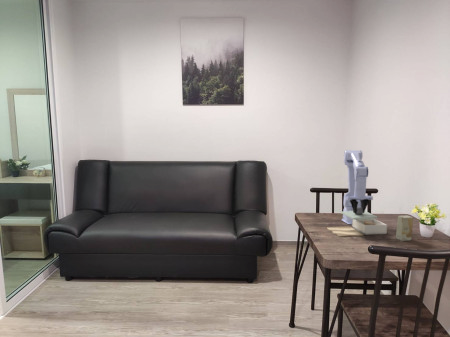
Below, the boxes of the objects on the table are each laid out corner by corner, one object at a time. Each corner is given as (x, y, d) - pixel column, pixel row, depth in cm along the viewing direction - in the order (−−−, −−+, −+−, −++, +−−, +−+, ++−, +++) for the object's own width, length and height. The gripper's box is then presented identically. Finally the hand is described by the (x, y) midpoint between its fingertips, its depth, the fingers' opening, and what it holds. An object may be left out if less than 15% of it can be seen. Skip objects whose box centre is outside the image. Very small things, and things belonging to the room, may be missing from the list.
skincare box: (401, 241, 177) (403, 217, 175) (395, 238, 181) (397, 215, 180) (412, 240, 179) (413, 217, 177) (405, 237, 183) (407, 214, 181)
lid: (340, 213, 198) (341, 205, 197) (363, 212, 200) (364, 204, 199) (353, 220, 184) (353, 211, 183) (377, 219, 186) (378, 210, 185)
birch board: (326, 228, 198) (326, 227, 198) (349, 227, 200) (349, 226, 200) (338, 236, 183) (338, 235, 183) (363, 235, 185) (363, 234, 185)
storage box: (352, 227, 200) (352, 219, 199) (373, 226, 202) (373, 218, 201) (364, 234, 187) (364, 225, 186) (386, 233, 189) (387, 224, 188)
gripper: (351, 190, 185) (350, 215, 187) (376, 189, 187) (375, 214, 189) (345, 187, 192) (343, 211, 193) (369, 187, 194) (367, 211, 196)
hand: (358, 212), depth 192 cm, fingers closed on lid, 4 cm apart
